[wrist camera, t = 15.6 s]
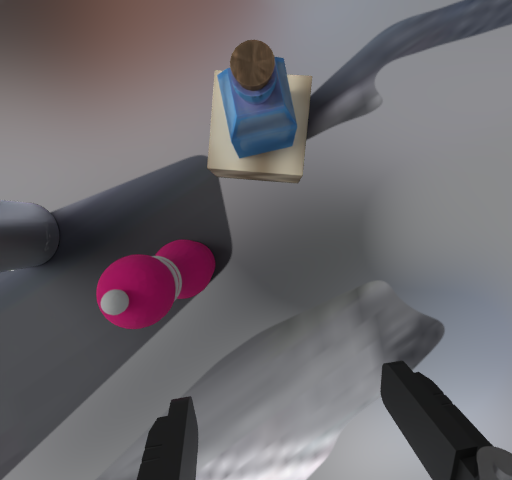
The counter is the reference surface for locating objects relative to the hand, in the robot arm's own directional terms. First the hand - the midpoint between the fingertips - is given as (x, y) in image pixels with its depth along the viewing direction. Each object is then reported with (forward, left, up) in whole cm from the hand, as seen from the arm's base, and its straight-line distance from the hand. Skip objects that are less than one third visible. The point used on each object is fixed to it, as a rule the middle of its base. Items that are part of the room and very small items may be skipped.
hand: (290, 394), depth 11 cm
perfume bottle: (-3, +18, -21) cm, 28 cm away
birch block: (-3, +18, -27) cm, 33 cm away
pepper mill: (-12, +1, -27) cm, 29 cm away
